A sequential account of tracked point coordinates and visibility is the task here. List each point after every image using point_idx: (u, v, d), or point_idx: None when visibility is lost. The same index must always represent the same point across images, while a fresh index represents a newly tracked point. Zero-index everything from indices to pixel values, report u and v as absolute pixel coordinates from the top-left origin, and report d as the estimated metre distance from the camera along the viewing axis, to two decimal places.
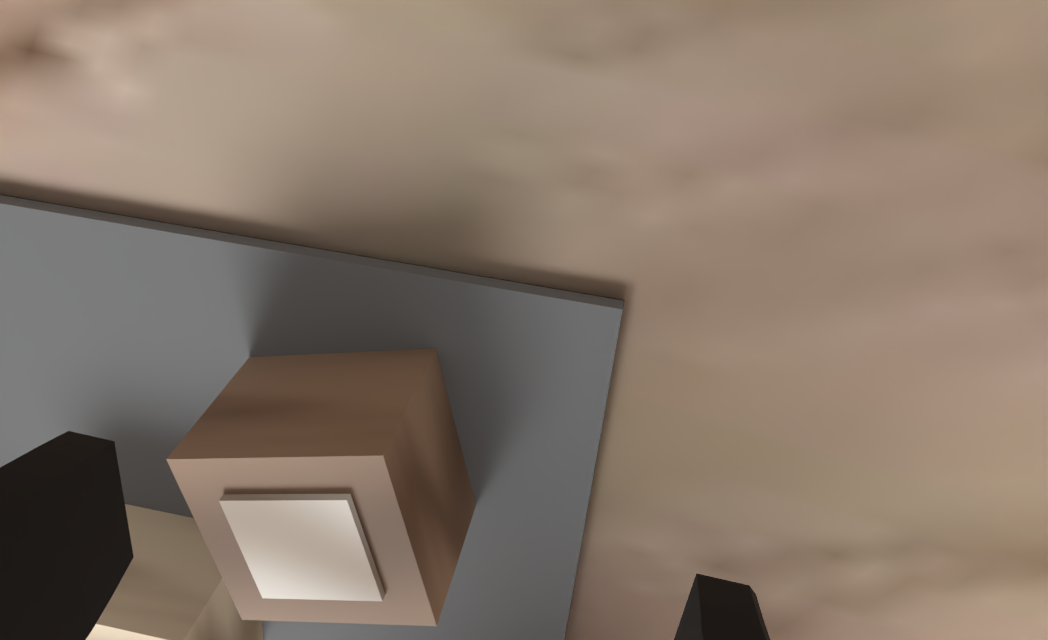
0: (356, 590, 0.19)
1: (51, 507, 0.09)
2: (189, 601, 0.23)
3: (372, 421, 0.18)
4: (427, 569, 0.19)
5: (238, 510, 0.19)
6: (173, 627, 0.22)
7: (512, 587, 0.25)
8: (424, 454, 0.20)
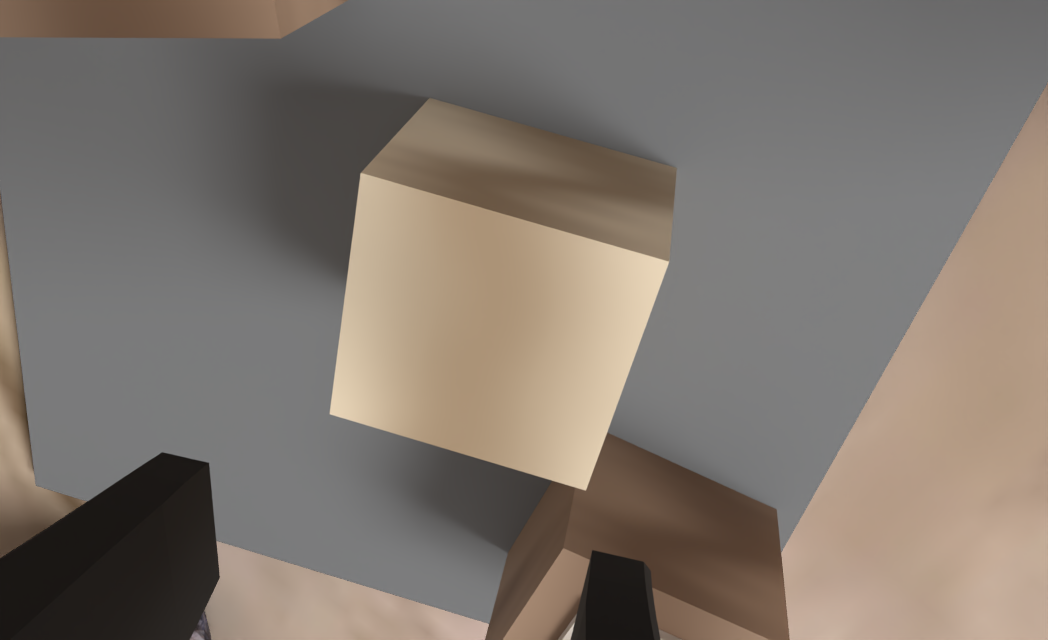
0: None
1: (155, 531, 0.09)
2: None
3: None
4: None
5: None
6: None
7: None
8: None
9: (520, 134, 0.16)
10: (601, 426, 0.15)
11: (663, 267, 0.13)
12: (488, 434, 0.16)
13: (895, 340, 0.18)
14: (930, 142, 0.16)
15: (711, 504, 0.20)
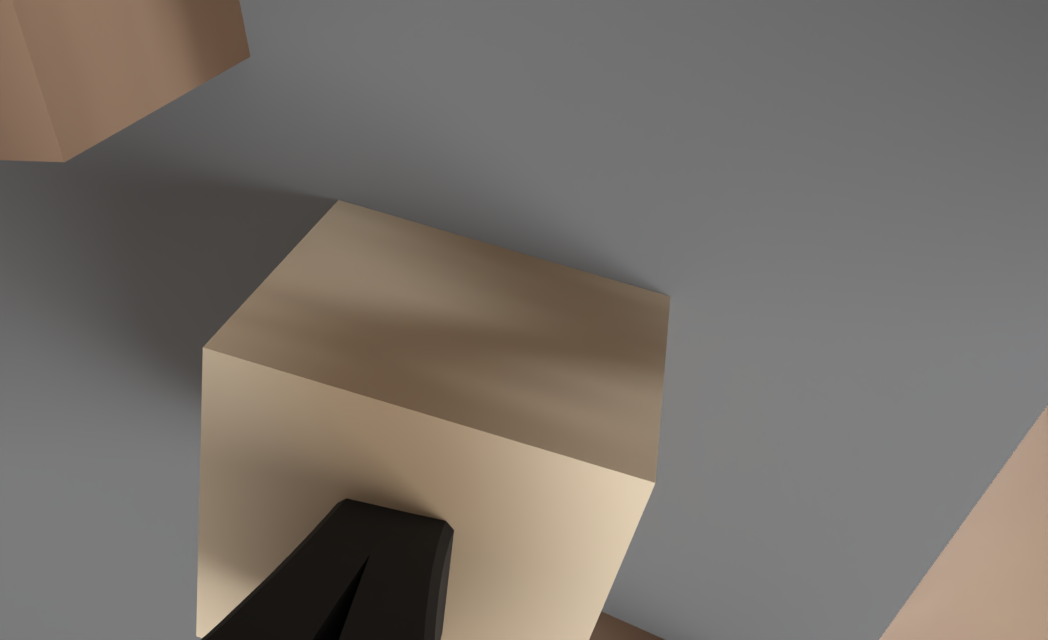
0: None
1: None
2: None
3: None
4: None
5: None
6: None
7: None
8: None
9: (457, 254, 0.12)
10: None
11: (647, 490, 0.09)
12: None
13: (959, 514, 0.13)
14: (1020, 274, 0.11)
15: None
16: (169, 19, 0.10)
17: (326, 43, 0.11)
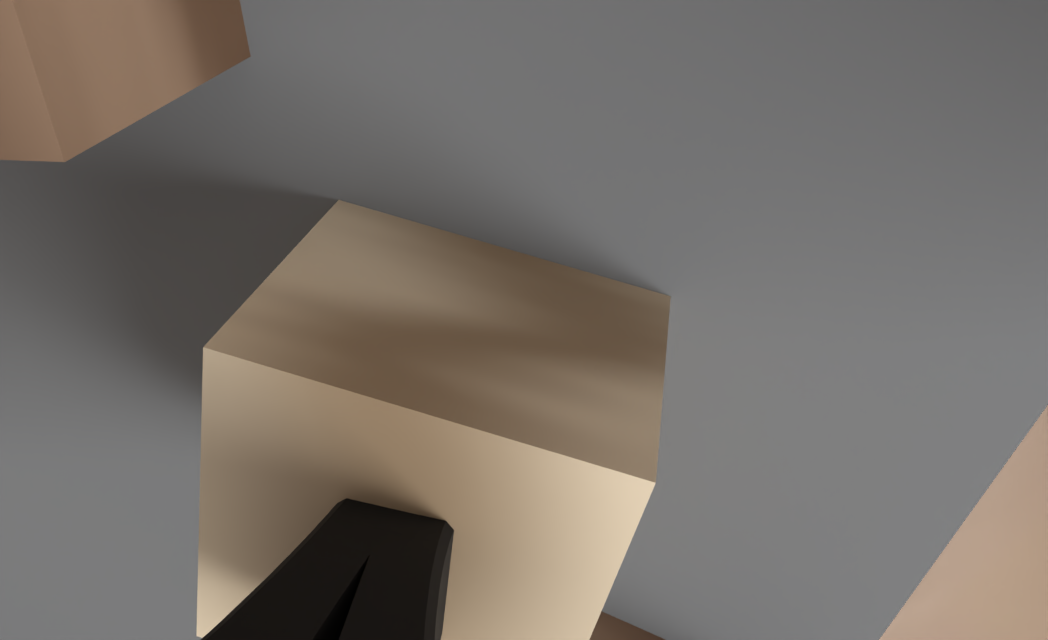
0: None
1: None
2: None
3: None
4: None
5: None
6: None
7: None
8: None
9: (457, 254, 0.12)
10: None
11: (647, 490, 0.09)
12: None
13: (960, 514, 0.13)
14: (1021, 273, 0.11)
15: None
16: (169, 19, 0.10)
17: (326, 43, 0.11)
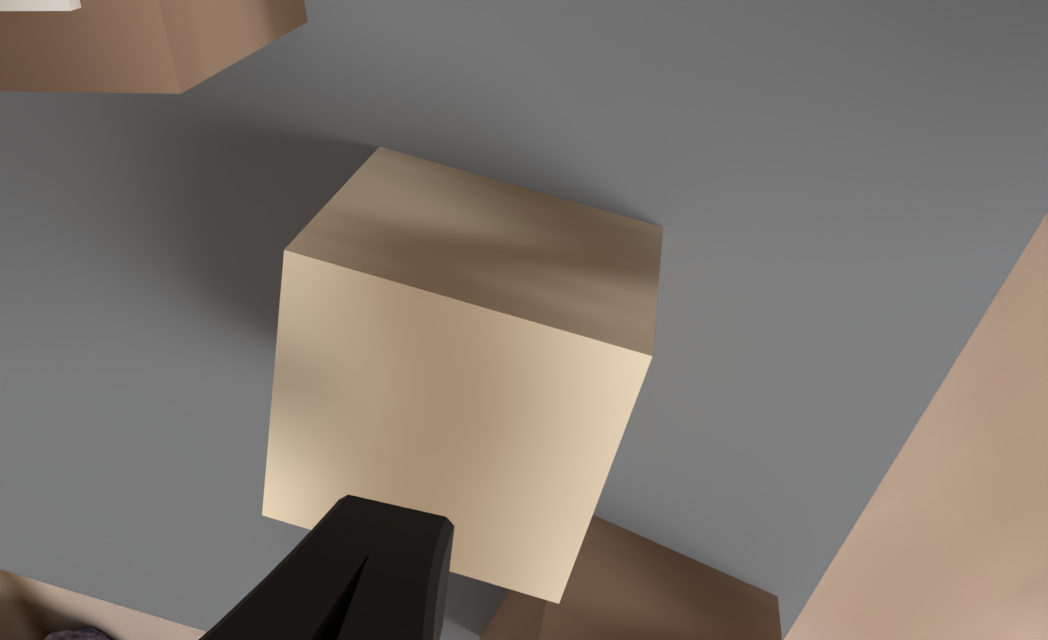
0: None
1: None
2: None
3: None
4: None
5: None
6: None
7: None
8: None
9: (482, 190, 0.14)
10: (575, 535, 0.13)
11: (645, 362, 0.11)
12: None
13: (912, 418, 0.16)
14: (956, 201, 0.13)
15: (705, 595, 0.18)
16: None
17: (373, 9, 0.14)
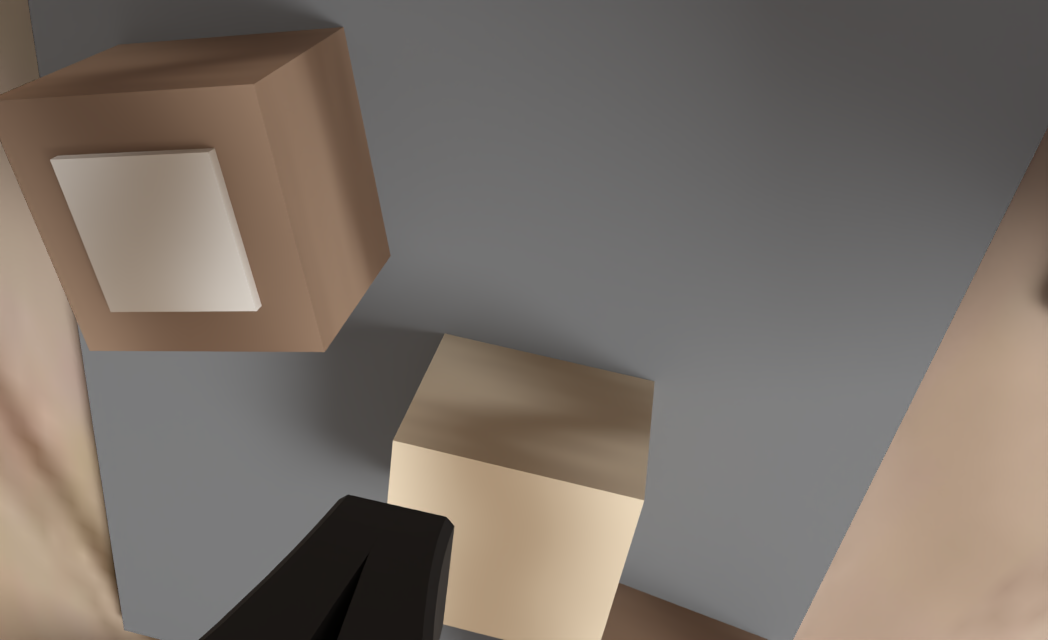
0: (200, 183, 0.14)
1: None
2: None
3: None
4: (187, 82, 0.14)
5: (117, 294, 0.16)
6: None
7: None
8: (123, 67, 0.16)
9: (521, 365, 0.20)
10: (601, 616, 0.18)
11: (640, 504, 0.17)
12: (509, 622, 0.19)
13: (854, 506, 0.21)
14: (863, 359, 0.19)
15: None
16: (357, 256, 0.18)
17: (437, 247, 0.19)
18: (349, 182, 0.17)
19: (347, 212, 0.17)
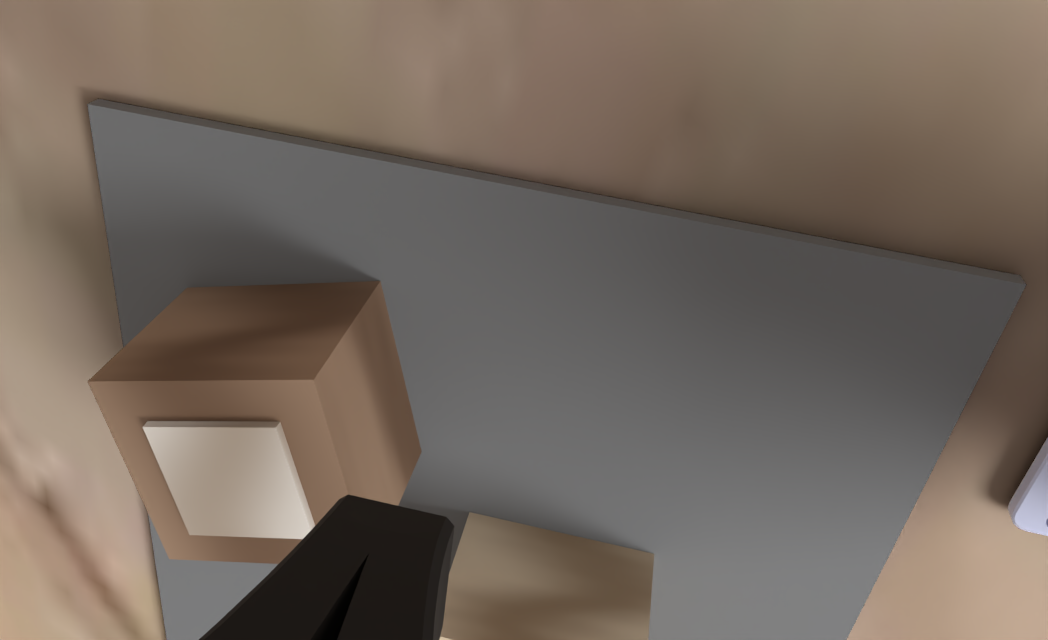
0: (268, 449, 0.17)
1: None
2: None
3: None
4: (256, 368, 0.17)
5: (195, 523, 0.19)
6: None
7: (508, 257, 0.19)
8: (197, 333, 0.19)
9: (537, 543, 0.23)
10: None
11: None
12: None
13: None
14: (835, 542, 0.21)
15: None
16: (395, 469, 0.21)
17: (462, 446, 0.22)
18: (387, 410, 0.20)
19: (386, 437, 0.20)
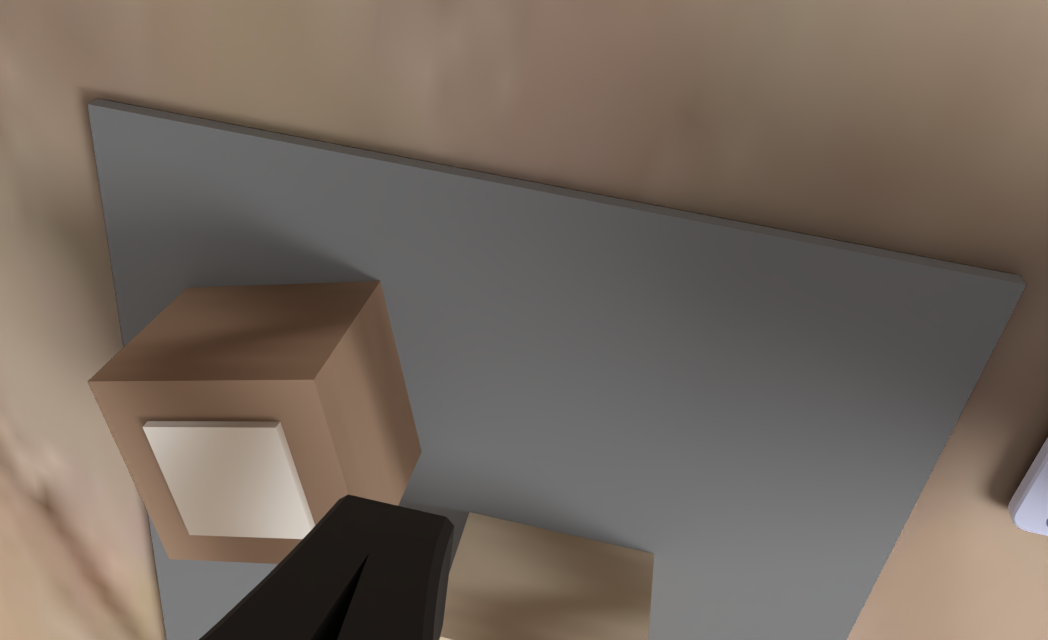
0: (268, 449, 0.17)
1: None
2: None
3: None
4: (256, 368, 0.17)
5: (195, 523, 0.19)
6: None
7: (508, 257, 0.19)
8: (197, 333, 0.19)
9: (537, 543, 0.23)
10: None
11: None
12: None
13: None
14: (835, 542, 0.21)
15: None
16: (395, 469, 0.21)
17: (462, 446, 0.22)
18: (387, 410, 0.20)
19: (386, 437, 0.20)
